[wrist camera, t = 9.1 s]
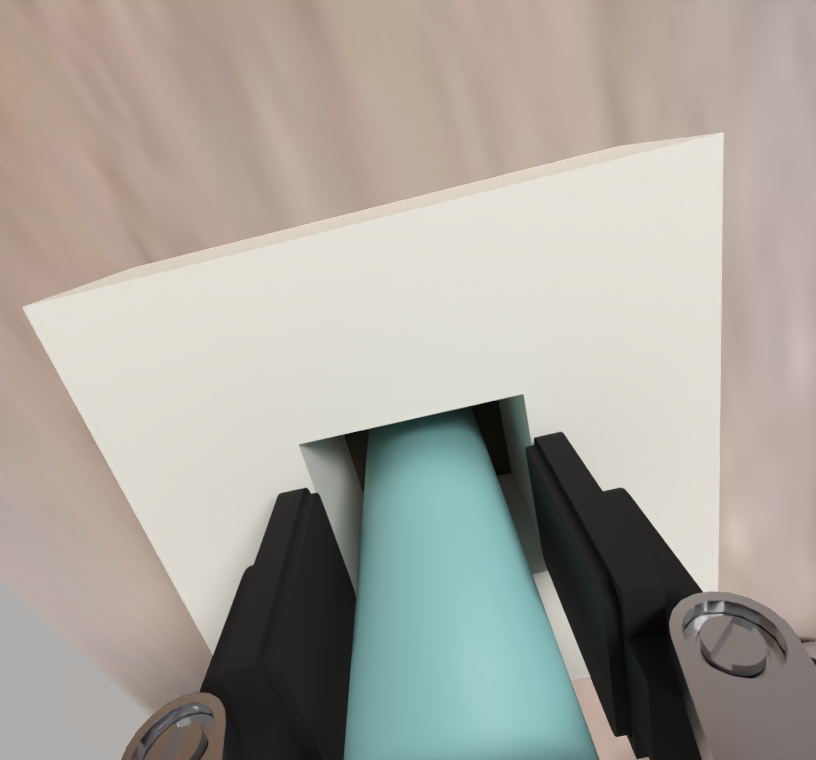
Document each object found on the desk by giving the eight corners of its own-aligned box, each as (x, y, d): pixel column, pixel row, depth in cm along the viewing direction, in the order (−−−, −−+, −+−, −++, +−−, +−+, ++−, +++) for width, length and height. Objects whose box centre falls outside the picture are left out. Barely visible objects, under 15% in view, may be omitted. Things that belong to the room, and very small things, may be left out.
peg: (357, 387, 14) (303, 758, 5) (462, 363, 14) (598, 701, 5) (383, 476, 15) (378, 905, 6) (481, 454, 15) (618, 863, 6)
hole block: (133, 267, 12) (22, 307, 9) (616, 146, 12) (723, 132, 8) (287, 615, 17) (259, 740, 13) (642, 543, 16) (717, 652, 12)
